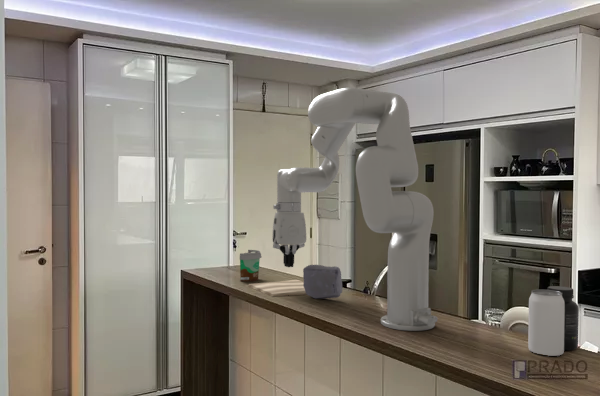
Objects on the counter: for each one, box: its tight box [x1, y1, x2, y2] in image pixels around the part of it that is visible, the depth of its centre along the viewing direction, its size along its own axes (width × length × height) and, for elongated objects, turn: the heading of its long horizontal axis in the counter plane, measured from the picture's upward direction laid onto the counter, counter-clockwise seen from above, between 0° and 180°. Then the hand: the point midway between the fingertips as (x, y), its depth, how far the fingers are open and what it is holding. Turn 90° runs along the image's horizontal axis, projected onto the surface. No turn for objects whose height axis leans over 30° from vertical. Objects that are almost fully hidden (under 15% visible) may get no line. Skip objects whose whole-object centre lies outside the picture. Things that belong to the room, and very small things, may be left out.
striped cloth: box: [248, 279, 307, 298], centre depth 169 cm, size 18×18×1 cm
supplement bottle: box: [547, 285, 580, 351], centre depth 110 cm, size 7×7×12 cm
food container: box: [239, 249, 262, 282], centre depth 187 cm, size 12×6×10 cm, turn 171°
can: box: [527, 289, 565, 357], centre depth 106 cm, size 6×6×12 cm
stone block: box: [302, 264, 343, 300], centre depth 154 cm, size 12×5×10 cm, turn 54°
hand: (288, 266), depth 167 cm, fingers closed
